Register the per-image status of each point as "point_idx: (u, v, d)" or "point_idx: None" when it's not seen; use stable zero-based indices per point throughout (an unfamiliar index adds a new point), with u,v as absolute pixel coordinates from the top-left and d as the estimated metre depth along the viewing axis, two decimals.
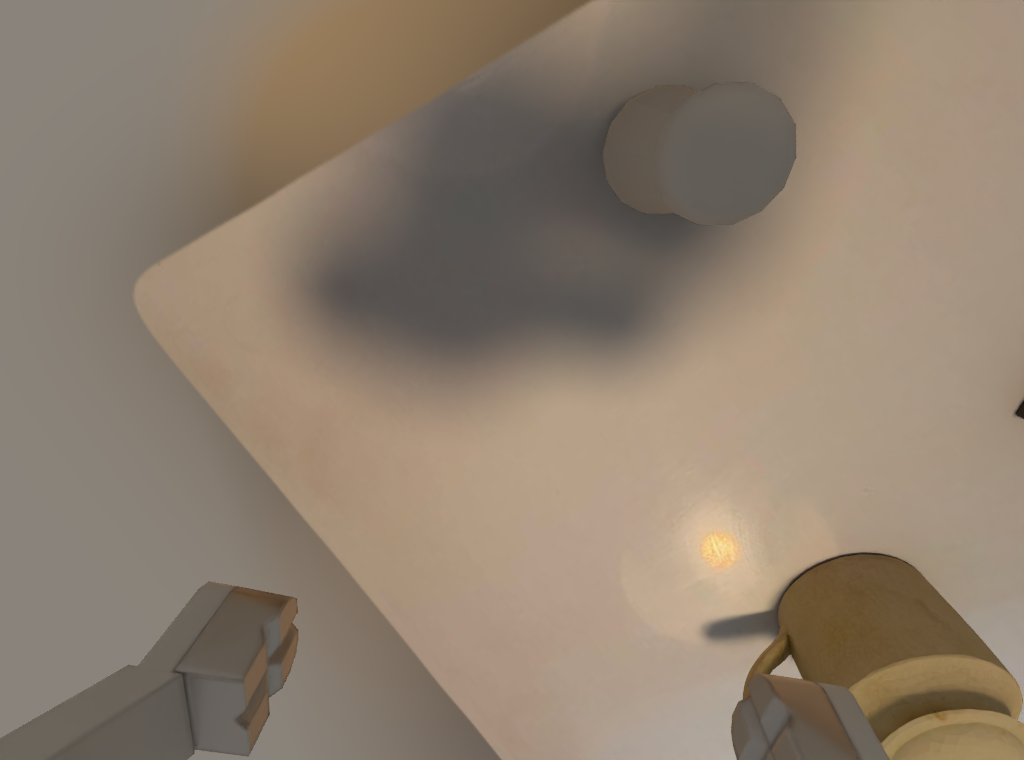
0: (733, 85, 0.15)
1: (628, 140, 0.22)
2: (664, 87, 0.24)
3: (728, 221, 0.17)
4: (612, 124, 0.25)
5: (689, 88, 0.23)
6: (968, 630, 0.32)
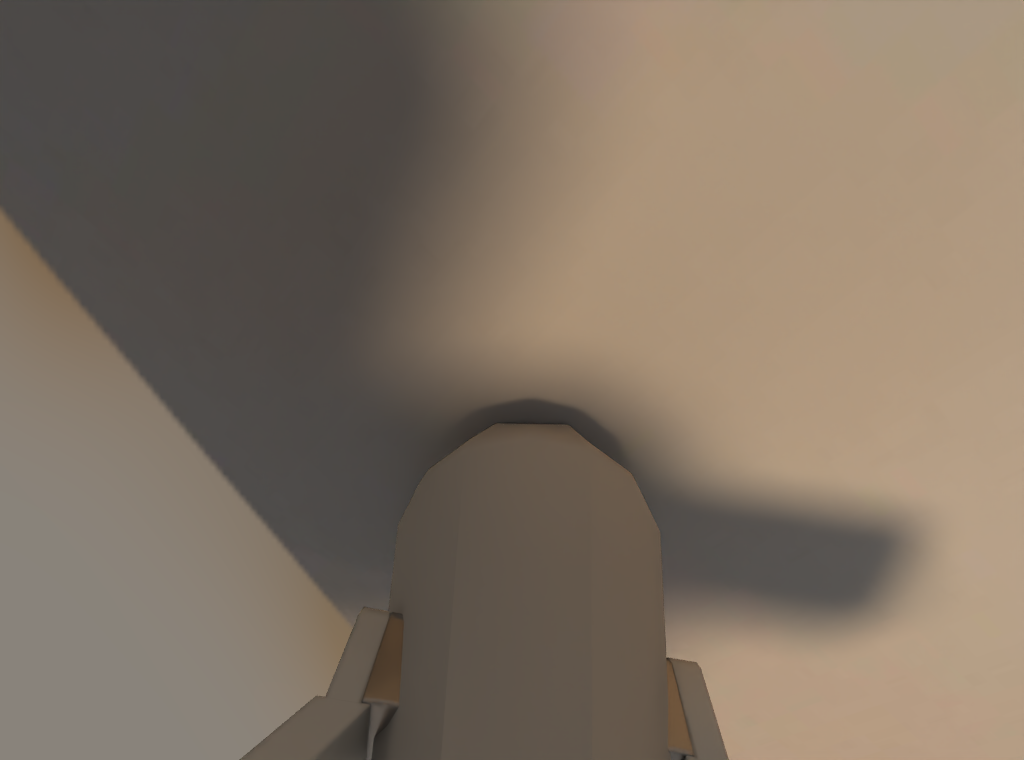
0: None
1: None
2: None
3: None
4: None
5: (392, 583, 0.10)
6: None
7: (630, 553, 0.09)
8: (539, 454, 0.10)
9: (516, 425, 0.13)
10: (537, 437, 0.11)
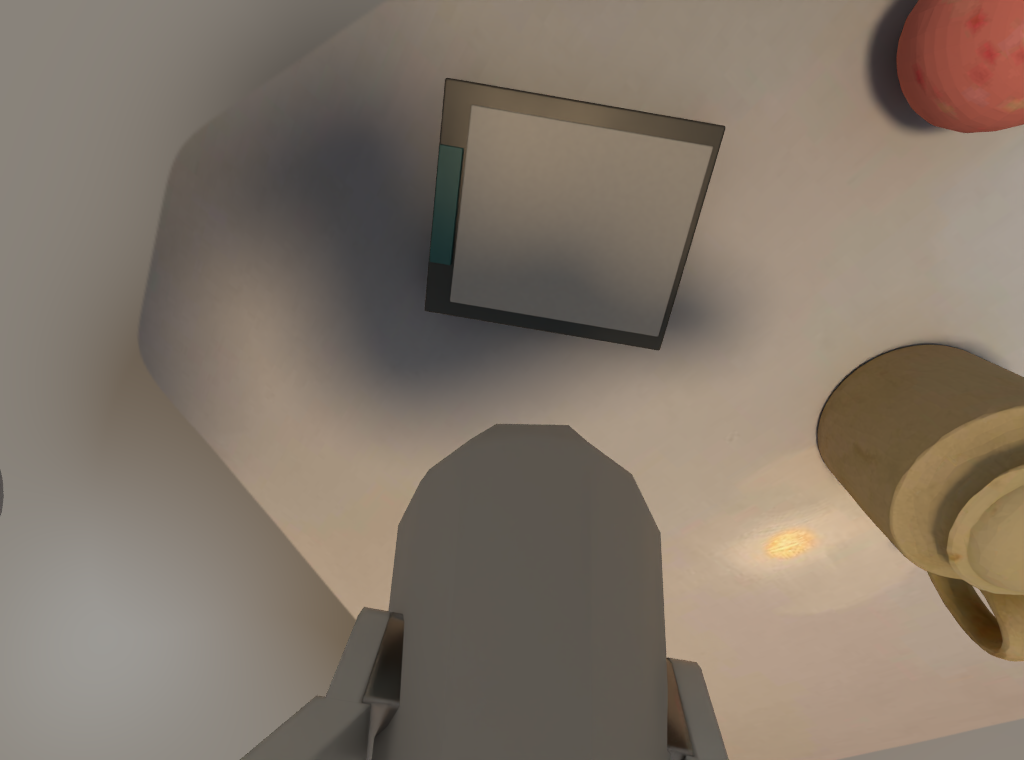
0: None
1: None
2: None
3: None
4: None
5: (392, 584, 0.10)
6: (894, 428, 0.28)
7: (630, 553, 0.09)
8: (539, 455, 0.10)
9: (516, 426, 0.13)
10: (537, 437, 0.11)
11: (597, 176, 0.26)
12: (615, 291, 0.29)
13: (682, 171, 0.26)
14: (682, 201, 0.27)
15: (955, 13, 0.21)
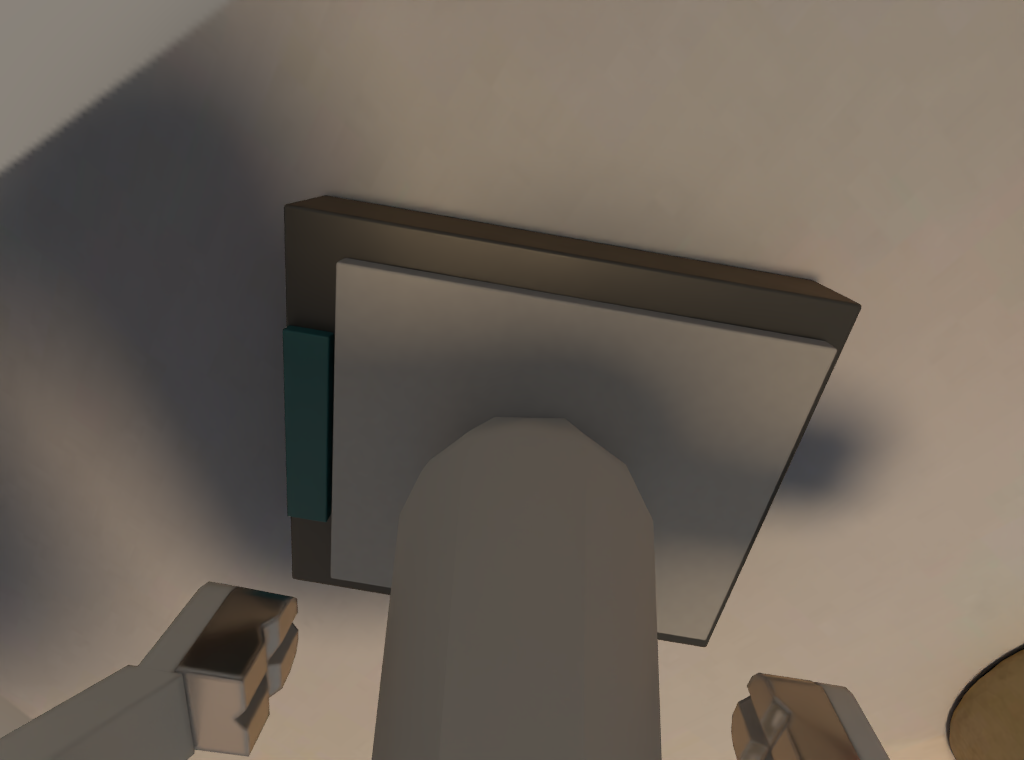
0: None
1: None
2: None
3: None
4: None
5: (393, 569, 0.10)
6: None
7: (623, 539, 0.10)
8: (536, 445, 0.10)
9: (514, 419, 0.13)
10: (534, 428, 0.11)
11: (597, 395, 0.13)
12: None
13: (770, 391, 0.13)
14: (766, 441, 0.13)
15: None
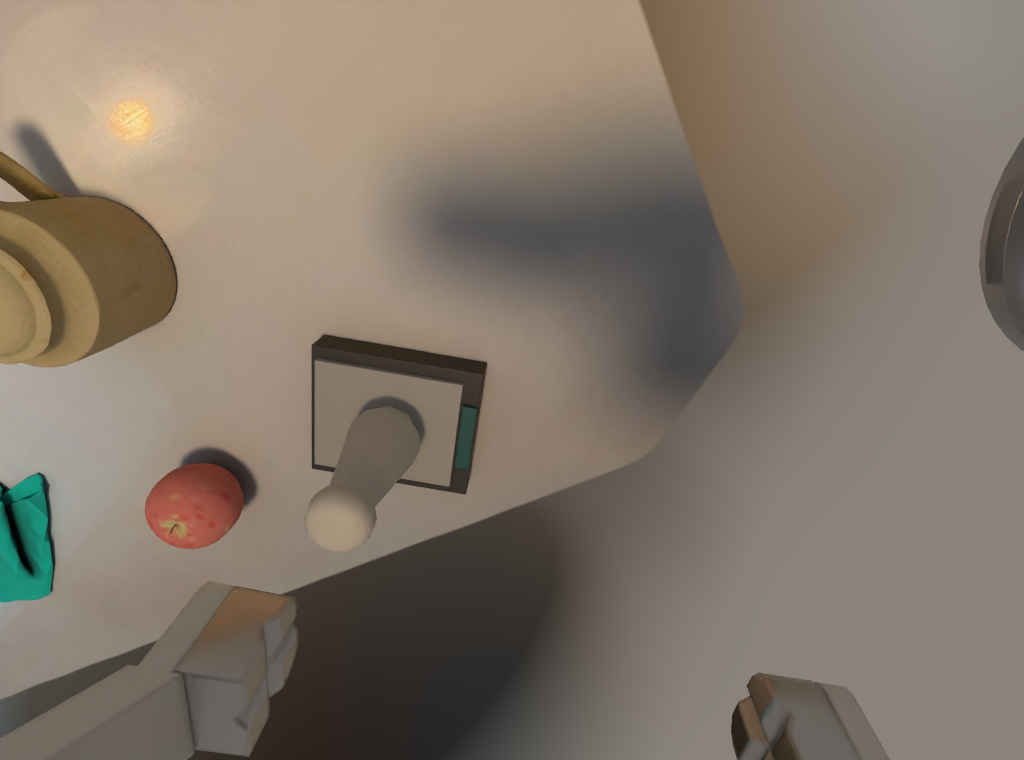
0: (367, 525, 0.32)
1: (374, 440, 0.37)
2: (415, 443, 0.40)
3: (306, 529, 0.32)
4: (394, 416, 0.40)
5: (411, 460, 0.40)
6: (124, 321, 0.38)
7: None
8: None
9: None
10: None
11: None
12: (350, 390, 0.42)
13: (327, 453, 0.45)
14: (323, 439, 0.44)
15: (222, 523, 0.46)
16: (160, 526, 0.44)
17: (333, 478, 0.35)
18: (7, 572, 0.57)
